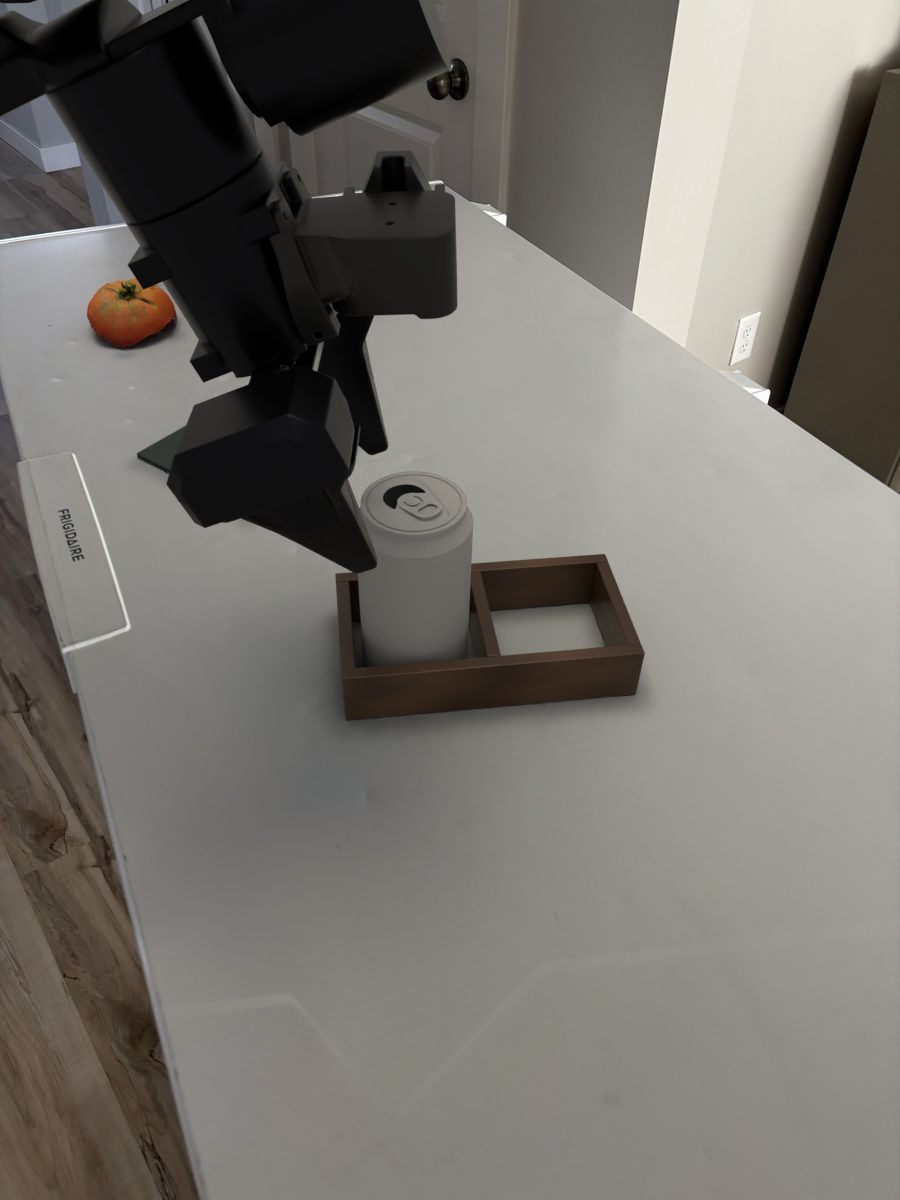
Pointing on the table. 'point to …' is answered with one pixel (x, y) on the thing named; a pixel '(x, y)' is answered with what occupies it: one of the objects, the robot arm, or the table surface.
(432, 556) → the beverage can
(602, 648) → the stand
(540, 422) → the table surface
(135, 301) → the tomato
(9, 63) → the robot arm
